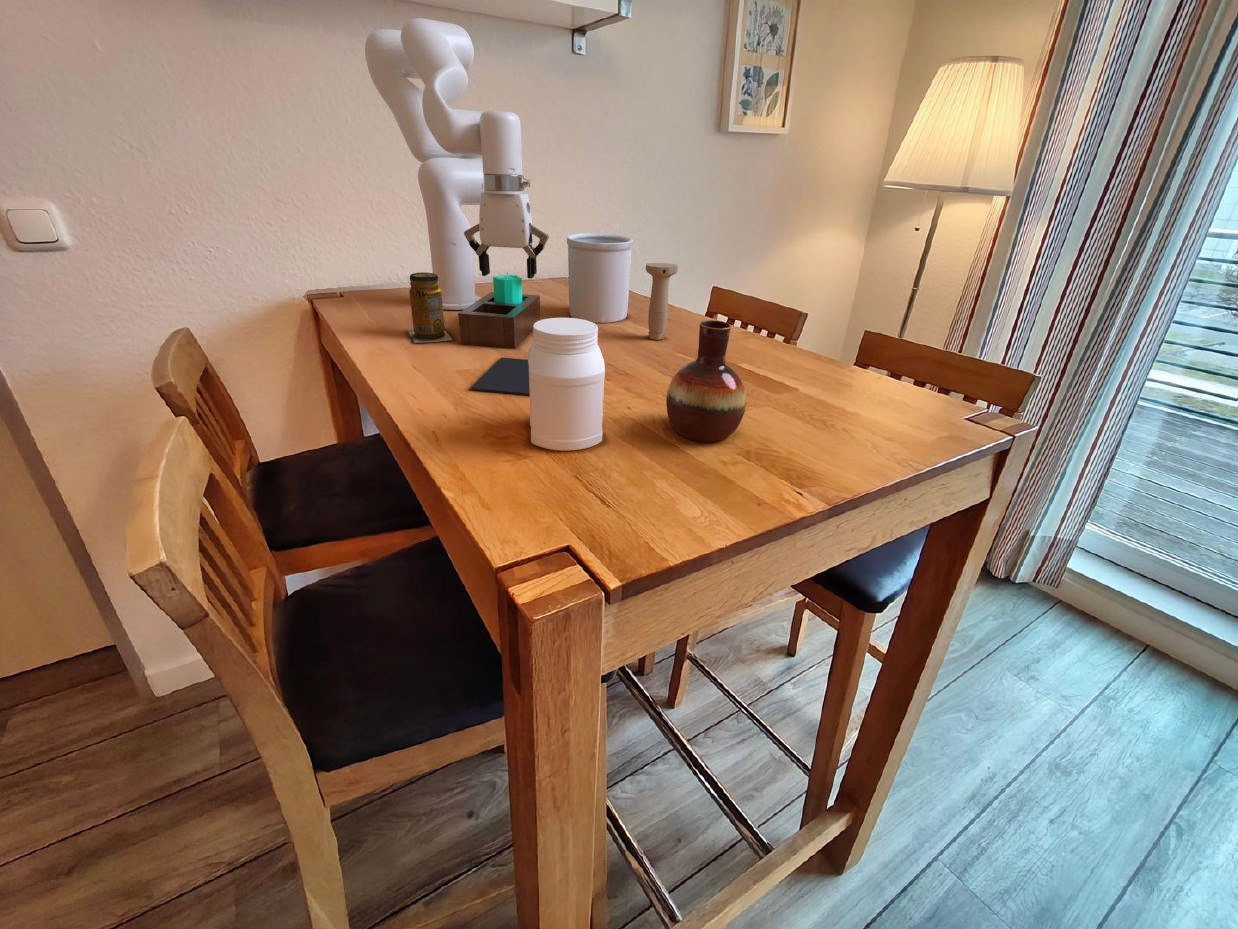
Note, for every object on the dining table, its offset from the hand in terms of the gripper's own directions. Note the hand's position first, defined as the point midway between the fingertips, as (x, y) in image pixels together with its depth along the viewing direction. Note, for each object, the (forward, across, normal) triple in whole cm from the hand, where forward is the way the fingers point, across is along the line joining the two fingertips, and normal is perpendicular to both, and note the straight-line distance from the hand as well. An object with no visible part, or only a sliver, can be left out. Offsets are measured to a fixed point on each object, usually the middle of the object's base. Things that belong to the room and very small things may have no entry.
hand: (508, 276), depth 122 cm
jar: (+12, -22, +49) cm, 55 cm away
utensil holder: (+11, -16, -16) cm, 25 cm away
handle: (+12, -31, -1) cm, 33 cm away
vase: (+12, -41, +44) cm, 62 cm away
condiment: (+11, +14, +11) cm, 21 cm away
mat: (+11, -13, +29) cm, 34 cm away
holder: (+11, +1, +4) cm, 12 cm away
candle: (+11, +1, 0) cm, 11 cm away
